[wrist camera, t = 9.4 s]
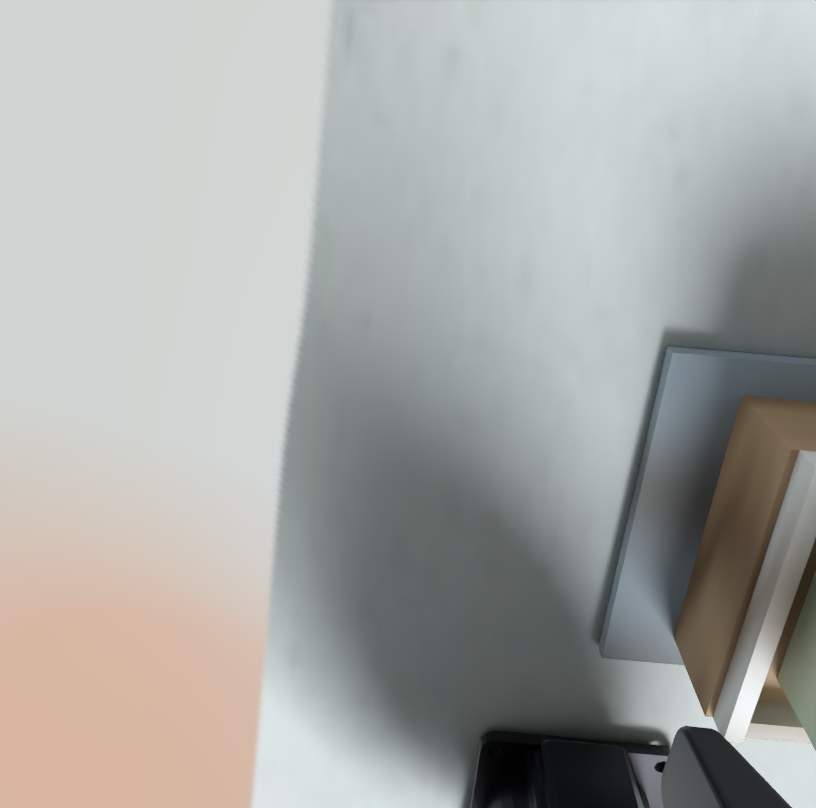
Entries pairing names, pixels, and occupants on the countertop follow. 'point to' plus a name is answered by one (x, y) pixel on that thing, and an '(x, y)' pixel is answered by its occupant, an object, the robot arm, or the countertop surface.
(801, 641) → the sage block
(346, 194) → the countertop surface
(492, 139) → the countertop surface
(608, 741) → the robot arm
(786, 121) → the countertop surface
